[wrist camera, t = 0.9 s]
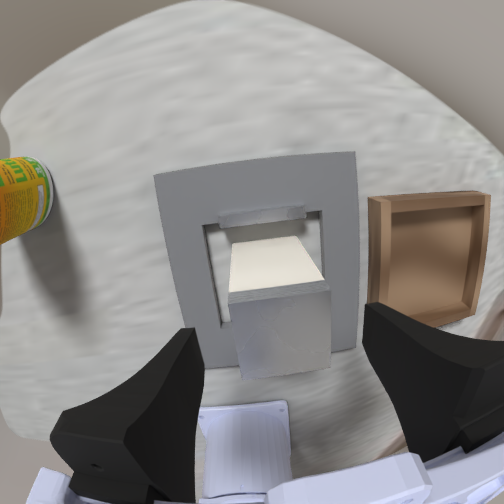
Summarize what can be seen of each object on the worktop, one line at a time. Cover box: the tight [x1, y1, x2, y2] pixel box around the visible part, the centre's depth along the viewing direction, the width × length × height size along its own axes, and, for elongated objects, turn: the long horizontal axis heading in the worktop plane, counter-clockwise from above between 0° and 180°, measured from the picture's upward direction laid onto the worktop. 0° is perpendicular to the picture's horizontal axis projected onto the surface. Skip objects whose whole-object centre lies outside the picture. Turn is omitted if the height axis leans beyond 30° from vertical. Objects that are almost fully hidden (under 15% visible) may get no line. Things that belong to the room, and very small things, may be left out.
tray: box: [367, 191, 491, 328], centre depth 19 cm, size 10×10×2 cm
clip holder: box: [154, 152, 360, 368], centre depth 19 cm, size 14×12×2 cm
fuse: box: [228, 235, 331, 380], centre depth 16 cm, size 4×4×8 cm
